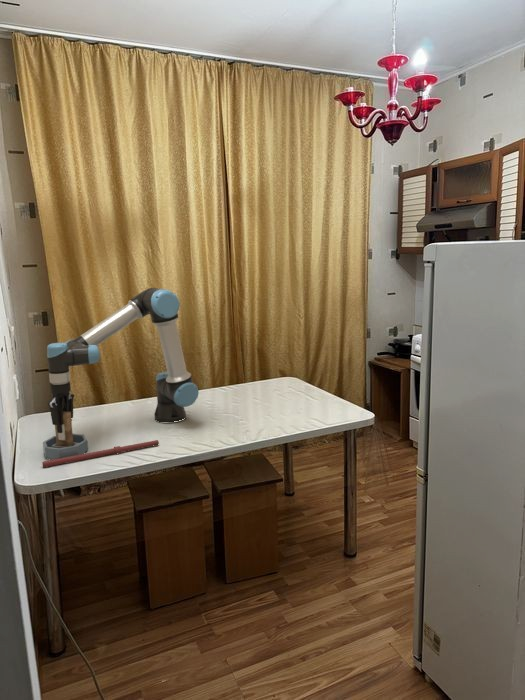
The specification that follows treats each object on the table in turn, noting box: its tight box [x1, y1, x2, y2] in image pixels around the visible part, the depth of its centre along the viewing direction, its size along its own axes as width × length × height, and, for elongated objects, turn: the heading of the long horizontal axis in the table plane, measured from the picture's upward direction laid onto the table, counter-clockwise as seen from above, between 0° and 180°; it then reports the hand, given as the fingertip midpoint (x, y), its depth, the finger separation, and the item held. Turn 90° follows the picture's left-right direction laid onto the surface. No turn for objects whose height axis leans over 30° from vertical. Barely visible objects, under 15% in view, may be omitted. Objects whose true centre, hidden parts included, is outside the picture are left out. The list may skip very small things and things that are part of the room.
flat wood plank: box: [54, 411, 74, 447], centre depth 205 cm, size 6×2×14 cm, turn 75°
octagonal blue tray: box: [42, 433, 89, 460], centre depth 207 cm, size 16×16×5 cm
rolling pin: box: [41, 439, 160, 468], centre depth 204 cm, size 45×3×3 cm, turn 118°
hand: (64, 438), depth 206 cm, fingers closed on flat wood plank, 2 cm apart
